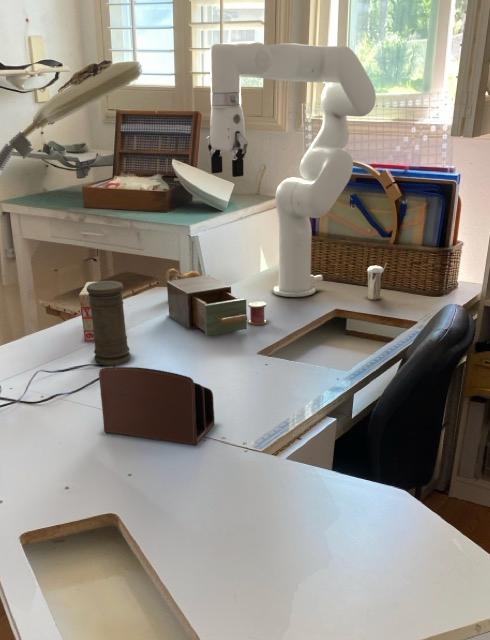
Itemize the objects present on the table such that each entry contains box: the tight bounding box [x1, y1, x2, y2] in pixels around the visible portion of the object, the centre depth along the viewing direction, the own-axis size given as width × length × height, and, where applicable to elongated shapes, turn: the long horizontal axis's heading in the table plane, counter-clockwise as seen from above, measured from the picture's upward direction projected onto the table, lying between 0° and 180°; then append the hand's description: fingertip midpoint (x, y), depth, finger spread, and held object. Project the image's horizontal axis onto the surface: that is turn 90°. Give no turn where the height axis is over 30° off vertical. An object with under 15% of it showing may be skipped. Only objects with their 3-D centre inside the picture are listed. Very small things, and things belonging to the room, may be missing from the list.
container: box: [87, 280, 132, 367], centre depth 193 cm, size 9×9×18 cm
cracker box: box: [78, 281, 96, 343], centre depth 216 cm, size 21×6×12 cm, turn 179°
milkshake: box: [366, 262, 388, 301], centre depth 234 cm, size 4×5×10 cm
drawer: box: [190, 290, 248, 337], centre depth 212 cm, size 18×11×8 cm, turn 25°
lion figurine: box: [165, 268, 202, 282], centre depth 243 cm, size 15×5×9 cm, turn 136°
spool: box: [247, 301, 267, 326], centre depth 219 cm, size 5×5×5 cm
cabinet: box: [166, 274, 232, 330], centre depth 222 cm, size 15×13×10 cm
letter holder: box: [98, 366, 215, 446], centre depth 158 cm, size 10×20×14 cm, turn 69°
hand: (227, 174), depth 214 cm, fingers open, 9 cm apart
